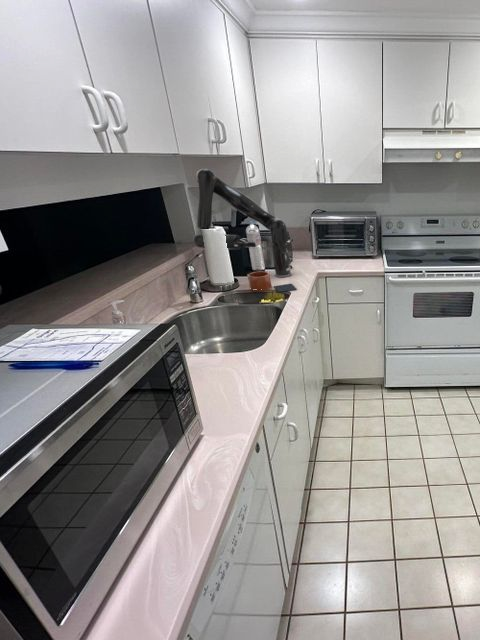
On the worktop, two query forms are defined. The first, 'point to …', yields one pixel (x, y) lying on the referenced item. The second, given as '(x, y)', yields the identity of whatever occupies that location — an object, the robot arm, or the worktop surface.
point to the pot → (259, 281)
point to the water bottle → (257, 251)
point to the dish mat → (285, 288)
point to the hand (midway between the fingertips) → (258, 243)
